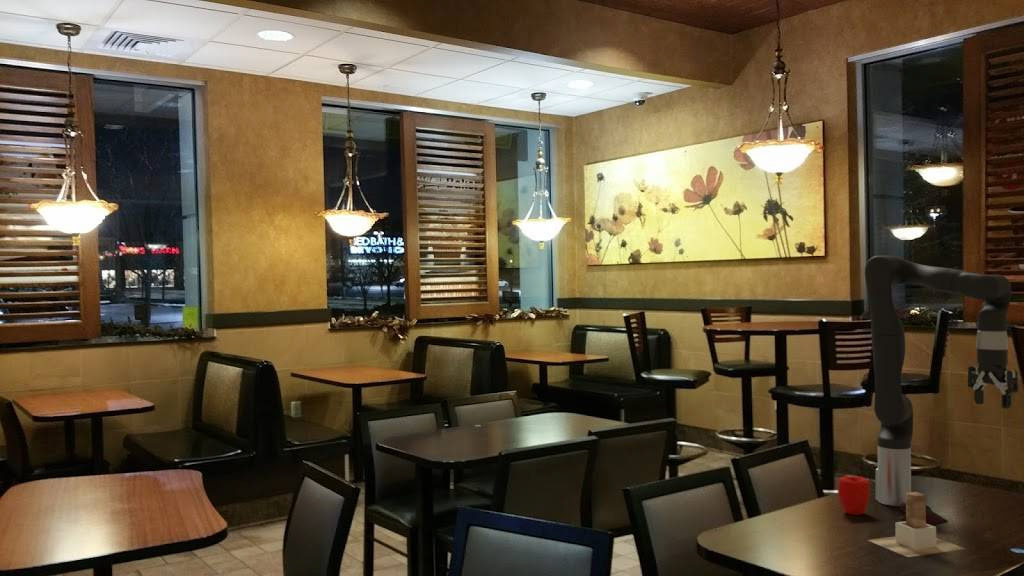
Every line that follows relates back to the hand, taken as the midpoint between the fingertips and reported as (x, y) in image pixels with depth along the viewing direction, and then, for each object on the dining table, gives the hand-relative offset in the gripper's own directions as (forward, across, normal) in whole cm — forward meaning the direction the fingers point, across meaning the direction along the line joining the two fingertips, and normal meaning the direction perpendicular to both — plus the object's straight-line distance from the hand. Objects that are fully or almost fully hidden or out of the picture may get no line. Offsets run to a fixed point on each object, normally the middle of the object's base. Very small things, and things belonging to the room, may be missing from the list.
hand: (992, 406), depth 232 cm
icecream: (+33, +4, +20) cm, 39 cm away
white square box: (+32, -8, +34) cm, 47 cm away
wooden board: (+33, -8, +34) cm, 48 cm away
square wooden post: (+31, -8, +34) cm, 47 cm away
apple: (+33, +23, +27) cm, 49 cm away
